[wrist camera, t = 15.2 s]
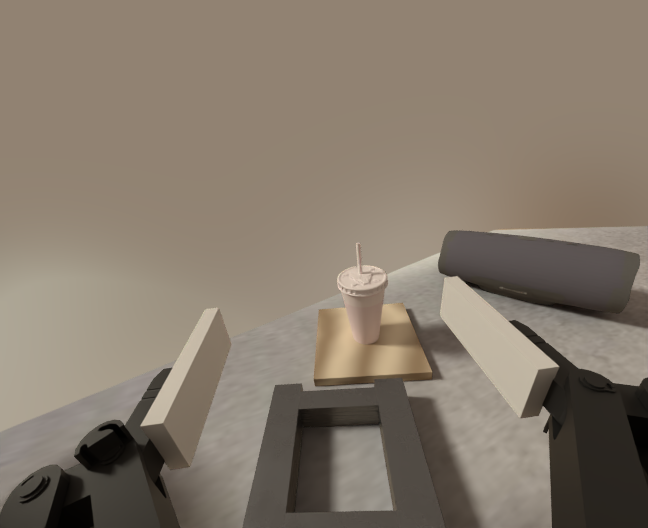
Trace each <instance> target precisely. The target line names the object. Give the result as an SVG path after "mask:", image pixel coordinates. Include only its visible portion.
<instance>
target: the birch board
mask: <svg viewBox="0 0 648 528" xmlns="http://www.w3.org/2000/svg"><path fill="white" fill-rule="evenodd" d="M389 378H402V379H403V381H411V380H428V379H432V370H431V368H430V365H429V363H428V361H427V358H426V356H425V354H424V351H423V349H422V347H421V344H420V342H419V340H418V337H417V335H416V333H415V330H414V328H413V326H412V323H411V321H410V319H409V316H408V314H407V311H406V309H405V307H404V304H403V303H396V304H384V305H383V308H382V316H381V325H380V333H379V338H378V340H377V341H376V342H374V343H372V344H360V343H358V342H356V341H355V340H354V338H353V334H352V330H351V326H350V322H349V319H348V315H347V311H346V308H335V309H322V310H319V316H318V330H317V343H316V356H315V370H314V383H315V386H325V385H342V384H360V383H374V379H389Z"/></svg>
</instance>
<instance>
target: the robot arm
mask: <svg viewBox="0 0 648 528" xmlns="http://www.w3.org/2000/svg"><path fill="white" fill-rule="evenodd" d="M440 316H441V318H442V319H443V320H444V322H445V323H446V324H447V325H448V327H449V328H450V329H451V331H452V332H453V333H454V334H455V336H456V337H457V338H458V340H459V341H460V342H461V343H462V345H463V346H464V347H465V348H466V350H467V351H468V352H469V354H470V355H471V356H472V357H473V359H474V360H475V361H476V363H477V364H478V365H479V366H480V368H481V369H482V370H483V372H484V373H485V374H486V375H487V377H488V378H489V379H490V381H491V382H492V383H493V384H494V386H495V387H496V388H497V389H498V391H499V392H500V393H501V395H502V396H503V397H504V398H505V400H506V401H507V402H508V404H509V405H510V406H511V407H512V409H513V410H514V411H515V413H516V414H517V415H518V416H519V418H526V417H533V416H539V414H540V411H541V409H542V407H543V406H544V407H545V408H546V409H547V411H548V412H549V413H550V416H549V419H548V421H547V423H546V425H545V427H544V430H543V432H545V433H547V432H548V429H549V450H550V479H551V508H552V528H648V378H645V379H643V381H642V382H641V384H640V385H639V386H631V385H623V384H615V383H612V382H611V381H610V380H609V379H607V378H605V377H603V376H602V375H600V374H597V373H595V372H592V371H589V370H584V369H578V368H577V367H576V366H574V365H573V364H572V363H571V362H570V361H568V360H567V359H566V358H565V357H564V356H562V355H561V354H560V353H559V352H558V351H556V350H555V349H554V348H553V347H552V346H550V345H549V344H548V343H546V342H545V341H544V340H543V339H542V338H541V337H540V336H538V335H537V334H536V333H535V332H534V331H532V330H531V329H530V328H529V327H528V326H526V325H524V324H522V323H520V322H518V321H516V320H512V321H507V320H506V319H505V318H504V317H503V316H502V315H501V314H500V313H498V312H497V311H496V310H495V309H494V308H493V307H492V306H491V305H489V304H488V303H487V302H486V301H485V300H484V299H483V298H481V297H480V296H479V295H478V294H477V293H476V292H475V291H474V290H472V289H471V288H470V287H469V286H468V285H467V284H466V283H465V282H463V281H462V280H461V279H460V278H459V277H458V276H455V277H447V278H444V287H443V295H442V303H441V311H440ZM230 347H231V341H230V338H229V336H228V333H227V330H226V327H225V324H224V321H223V318H222V315H221V313H220V310H219V308H212V309H206V310H205V311H204V313H203V315H202V316H201V318H200V320H199V322H198V323H197V325H196V327H195V329H194V331H193V332H192V334H191V336H190V338H189V340H188V341H187V343H186V345H185V347H184V349H183V350H182V352H181V354H180V356H179V358H178V359H177V361H176V363H175V365H174V366H173V368H167V369H163V370H162V371H161V372H160V373H159V374H158V375H157V376H156V377H155V378H154V379H153V381H152V382H151V384H150V385H149V387H148V389H147V392H145V394H144V395H143V397H142V400H141V401H140V402H139V403H138V405H137V407H136V408H135V410H134V412H133V413H132V415H131V416H130V418H129V420H128V421H127V423H126V425H125V426H124V424H123V423H122V422H121V421H120V420H111V421H107V422H105V423H103V424H101V425H99V426H97V427H96V428H94V429H93V430H92V431H90V432H89V433H88V434H87V435H86V436H85V437H84V438H83V439H82V440H81V441H80V443H79V445H78V446H77V448H76V450H75V455H74V457H75V458H76V459H77V460H78V461H79V462H80V463H81V464H79V465H76V466H74V467H72V468H69V469H67V470H65V471H63V470H62V469H61V468H60V467H59V466H58V465H49V466H46V467H43V468H41V469H39V470H37V471H36V472H34V473H32V474H31V475H29V476H28V477H27V478H26V479H25V480H23V481H22V482H21V483H20V484H19V485H18V486H17V487H16V488H15V489H14V490H13V492H12V493H11V494H10V496H9V497H8V499H7V501H6V502H5V504H4V506H3V509H2V511H1V513H0V528H180V526H179V523H178V520H177V517H176V514H175V511H174V509H173V506H172V503H171V500H170V497H169V495H168V492H167V489H166V486H165V483H164V480H163V478H162V476H161V475H160V471H161V469H162V467H163V464H164V462H165V463H166V465H167V466H168V468H169V469H170V470H173V469H180V468H187V467H190V466H191V463H192V460H193V457H194V454H195V451H196V448H197V445H198V442H199V439H200V436H201V433H202V430H203V427H204V424H205V421H206V418H207V415H208V412H209V409H210V406H211V403H212V400H213V397H214V395H215V392H216V389H217V386H218V383H219V380H220V377H221V374H222V371H223V368H224V365H225V362H226V359H227V356H228V353H229V350H230Z"/></svg>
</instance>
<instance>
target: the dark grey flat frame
mask: <svg viewBox="0 0 648 528" xmlns="http://www.w3.org/2000/svg"><path fill="white" fill-rule="evenodd" d="M369 424H379V426H380V432H381V438H382V444H383V450H384V456H385V462H386V468H387V474H388V480H389V486H390V493H391V499H392V505H393V511H353V512H304V513H294V512H295V502H296V492H297V482H298V472H299V462H300V452H301V442H302V432H303V427H325V426H347V425H369ZM243 528H446V527H445V524H444V520H443V517H442V513H441V510H440V507H439V503H438V500H437V496H436V493H435V489H434V486H433V483H432V479H431V476H430V472H429V469H428V465H427V462H426V458H425V455H424V452H423V448H422V445H421V441H420V438H419V434H418V431H417V428H416V424H415V421H414V417H413V414H412V410H411V407H410V403H409V400H408V397H407V393H406V390H405V386H404V383H403V379H402V378H389V379H374V387H373V388H355V389H338V390H320V391H303V388H302V384H287V385H275V388H274V392H273V397H272V401H271V406H270V410H269V414H268V419H267V423H266V427H265V432H264V436H263V441H262V445H261V449H260V454H259V458H258V462H257V467H256V471H255V475H254V480H253V484H252V489H251V493H250V497H249V502H248V506H247V510H246V515H245V519H244V524H243Z"/></svg>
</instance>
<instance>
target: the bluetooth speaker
mask: <svg viewBox="0 0 648 528" xmlns="http://www.w3.org/2000/svg"><path fill="white" fill-rule="evenodd" d="M639 266H640V256H639V254H636V253H632V252H627V251H623V250H618V249H612V248H606V247H600V246H593V245H586V244H580V243H573V242H566V241H559V240H551V239H543V238H535V237H527V236H518V235H508V234H498V233H487V232H486V233H485V232H474V231H449V232H448V233H447V234H446V236H445V238H444V241H443V246H442V249H441V253H440V257H439V261H438V269H439V272H440V273H442V274H445V275H447V276H450V277H455V276H458V277H459V278H460V279H461V280H464V281H468V282H471V283H474V284H478V285H479V288H480V289H483V290H485V291H488V292H492V293H495V294H499V295H503V296H507V297H511V298H515V299H519V300H523V301H528V302H532V303H537V304H543V305H553V304H555V303H559V304H564V305H571V306H576V307H581V308H586V309H591V310H597V311H603V312H610V313H620V312H621V311H622V310H623V309H624V308H625V306H626V305H627V303H628V301H629V297H630V292H631V288H632V285H633V282H634V279H635V276H636V273H637V271H638V269H639Z"/></svg>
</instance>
